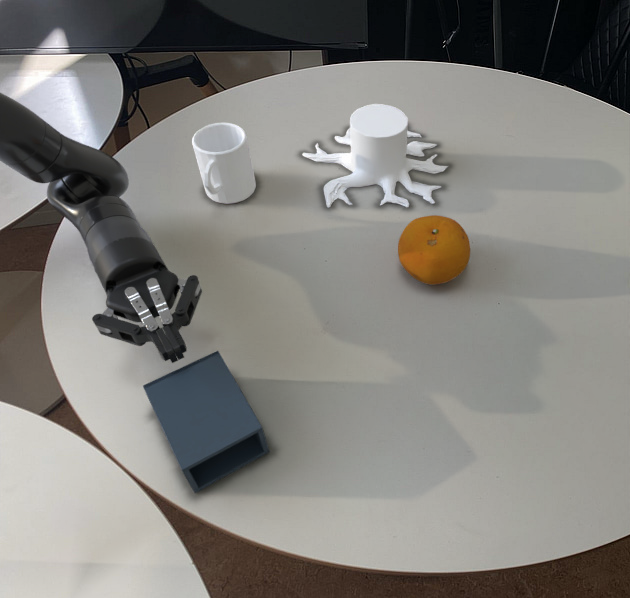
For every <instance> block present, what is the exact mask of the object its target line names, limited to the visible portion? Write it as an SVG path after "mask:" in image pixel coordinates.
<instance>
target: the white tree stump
mask: <svg viewBox="0 0 630 598" xmlns="http://www.w3.org/2000/svg"><path fill="white" fill-rule="evenodd" d="M403 111H404V110H401V109H400V108H398V107H395V106H393V105H389V104H386V103H384V104H381V103H372V104H366V105H363V106H361V107H358V108H356V110H354V111H353V113H351V115H350V118H349V128H348V129H347V130H346V133H345V135H344V136H340V135H335V136H334V140H335V142H337V143H338V144H341V145H347V146H350V152H336V153H334V152H333V153H327V152H326V151H324V150H323V149H322V148H320V147H319V143H318V142H317V143H316V144H315V145H314V146H315V150H316V153H310V152H303V153H302V156H303V157H304V158H307V159H309V160H312V161H314V162H316V163H329V164H339V165H342V166H343V167H344V168H346V169H347V170H349V171H351V173H350V174H348V175H345V176H341V177H337V178H333V179H331V180H330V181H327V182H326V183H325V184H324V186H323V194H324V199H325V203H326V207H327V208H329V209H330V208H331V207H332V204H333V203H334V202H335V200H338V199H339V200H343V201H344V202H345V204H347V205H349V206H353V203H352V202H351V200H350V199H349V197H348V195H346V193H345V191H346V190H347V189H349V188H361V187H368V186H373V185H377V186H380V187H381V188H382V191H383V193H384V195H383V196H384V197H383V199H382V200H381V201H380V204H379V206H383V205H384V204H386V203H392V204H397V205H401V206H403V207H405V208H409V207H410V203H409V200H408V199H406V198H404V197H401V196H397V195H396V193H395V191H396V186H397V182H399V183H400V184H401V185H403V187H404V188H405V189H406V190H407V191H408V192H409V193H410V194H412V193H414V194H415V195H418V196H421V197H422V198H423V200H425V201H426V202H428V203H430V204H431V205H434V204H436V201H435V200H434V199H433V197H432V192H433V191H434V190H439V189H441V188H442V185H434V184H433V185H430V184H425V183H421V182H417V181H414V180H412V179H411V177H410V174H409V172H410V171H411V170H416V171H420V172H425V173H430V174H438V173H442V172H445V171H446V169H448V167H449V165H438V164H435V163H434V162H433V160H435V158H436V157H437V156H438V154H436V153H434V154H433V155H431V156H430V157H429V158H427V159H426V160H423V161H422V160H418V159H413V158H409V157H407V155H410V156H414V157H417V158H418V157H420V158H421V157H425V153H424V152H423V151H424V150H429V149H432V148H435V147H437V146H438V144H437V143H429V142H423V141H421V142H420V141H417V140H413V141H411V142H409V143H408V138H411V137H413V138H422V136H421V134H420V133H418V132H413V131H410V130H409V129H408V127H409V118H408V116H407V115H406V113H405V112H403Z"/></svg>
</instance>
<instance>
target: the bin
mask: <svg viewBox="0 0 630 598" xmlns="http://www.w3.org/2000/svg"><path fill="white" fill-rule="evenodd" d="M142 388H143V390H144V392H145V395H146V396H147V398H148V401H149V403H150V405H151V407H152V409H153V412H154V414H155V416H156V418H157V420H158V423H159V424H160V427H161V430H162V431H163V433H164V436H165V438H166V440H167V442H168V444H169V447H170V448H171V451H172V453H173V455H174V457H175V459H176V462H177V464H178V466H179V468H180V470H181V472H182V474H183V475H184V477H185V479H186V481H187V483H188V484H189V486H190V487H191V489H192V491H193V492H194V494H196V493H198V492H200V491H202V490H203V489H205V488H207V487H209V486H211V485H213V484H214V483H216V482H218V481H220V480H221V479H223V478H225V477H227V476H229V475H231V474H232V473H234V472H236V471H238V470H240V469H241V468H243V467H245V466H247V465H249V464H250V463H252V462H254V461H256V460H258V459H260V458H261V457H263V456H265V455H267V454H269V453H270V449H269V445H268V442H267V439H266V435H265V432H264V429H263V426H262V424H261V422H260V421H259V419H258V418H257V415H256V414H255V412H254V410H253V409H252V407H251V406H250V404H249V402H248V400H247V398H246V396H245V395H244V393H243V391H242V390H241V388H240V386H239V385H238V383H237V381H236V379H235V378H234V376H233V374H232V372H231V371H230V369H229V367H228V366H227V364H226V362H225V360H224V358H223V356H222V355H221V353H220V351H219V350H216V351H213V352H211V353H209V354H207V355H205V356H203V357H201V358H198V359H196V360H194V361H192V362H190V363H188V364H186V365H184V366H182V367H179V368H177V369H175V370H173V371H171V372H169V373H167V374H164V375H163V376H160V377H158V378H156V379H154V380H151V381H150V382H148V383H145V384H142Z"/></svg>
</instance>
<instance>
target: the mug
mask: <svg viewBox="0 0 630 598" xmlns="http://www.w3.org/2000/svg"><path fill="white" fill-rule="evenodd" d="M247 136H248V135H247V132H246V131H245V129H244V128H243V127H241V126H239V125H238V124H234V123H231V122H214V123H210V124H207V125H205V126H203V127H201V128H200V129H199V130H197V131H196V132H195V133H194V135H193V136H192V138H191V144H192V147H193V151H194V156H195V158H196V162H197V167H198V169H199V173H200V177H201V180H202V181H201V182H202V184H203V188H204V192H205V194H206V195H207V197H208V198H209V199H210V200H212V201H213V202H216V203H219V204H227V205H228V204H229V205H230V204H237V203H240V202H243V201H245V200H246V199H249V198H250V197H251V196H252V195H253V194H254V192H255V190H256V187H257V184H256V183H257V182H256V178H255V177H256V176H255V172H254V167H253V161H252V157H251V156H252V155H251V151H250V146H249V140H248V137H247Z"/></svg>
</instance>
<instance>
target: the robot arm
mask: <svg viewBox="0 0 630 598" xmlns="http://www.w3.org/2000/svg"><path fill="white" fill-rule="evenodd" d="M0 162H1V163H3V164H4V165H6V166H8V167H9V168H11V169H12V170H14V171H15V172H17V173H19V174H20V175H21V176H24V177H25V178H27V179H28V180H29V181H32V182H34V183H38V184H48V185H47V188H46V198H47V200H48V203H49V204H50V205H51V207H52V208H53V209H54V210H55V211H56V212H58V213H59V214H60V215H61V216H62V217H64V218H65V219H67V220H68V221H69V222H70V223H71V224H72V225H73V226H74V227H75V229H76V230H77V231H78V232H79V234H80V237H81V238H82V241H83V243H84V245H85V247H86V251H87V255H88V257H89V260H90V263H91V265H92V267H93V269H94V272H95V274H96V276H97V278H98V279H99V282H100V284H101V286H102V288H103V291H104V292H105V294H106V300H105V305H106V307H107V308H106V309H105V310H104V311H103V313H95V314H94V315H93V316H92V317H91V320H92V322H93V324H94V325H95V328H96V329H97V330H98V332H99V334H100V335H101V336H105V337H108V338H112V339H114V340H118V341H121V342H125V343H128V344H131V345H134V346H138V347H142V346H144V345H146V343H153V344H154V346H155V347H156V349H157V351H158V353H159V355H160V358H161V359H162V360H163V361H165V362H167V361H169V360H170V362H171V364H174V363H176V362H178V361H180V360H182V359H185V355H184V354H185V353H186V352H187V351H188V347H187V345H186V342H185V339H184V338H183V336H182V334H181V333H180V329H181V328H183V327H188V326H190V324H191V322H192V320H193V317H194V314H195V311H196V309H197V307H198V304H199V301H200V299H201V296H202V293H203V289H202V285H201V283H200V280H199V277H198V276H197V275H195V274H191V275H189V276H188V277H187V278H179V276H178V275H177V274H176V273H174V272H172V271H170V270H169V269H168V267H167V265H166V263H165V262H164V260H163V258H162V256H161V255H160V252H159V251H158V249H157V248H156V246H155V243H154V242H153V240H152V239H151V237H150V235H149V234H148V232H147V231H146V230H145V229H144V228H143V227H142V226H141V224H140V222H139V220H138V219H137V216H136V215H135V213H134V211H133V209H132V208H131V206H130V205H129V204H128V203H127V202H126V201H125V200H124V199H122V198H121V197H122V196H123V195H124V194H125V193H126V192H127V190H128V188H129V184H130V179H129V174H128V172H127V171H126V169H125V167H124V166H123V165H122V164H121V163H120V162H119V161H118V160H117V159H116V158H114V157H113V156H112V155H110V154H108V153H107V152H104V151H102V150H100V149H98V148H96V147H93V146H89V145H87V144H85V143H82V142H80V141H77V140H75V139H72V138H71V137H68V136H66V135H64V134H63V133H61V132H60V131H59V130H58V129H56V128H54V127H53V126H52V125H51V124H50V123H48V122H47V121H45V120H44V119H43V118H42V117H40V116H39V115H38V114H36V112H34V111H32V110H31V109H30V108H28V107H27V106H26V105H24V104H22V103H21V102H19V101H17V100H16V99H14V98H12V97H10V96H8V95H6V94H4V93H2V92H0ZM179 291H180V297H179V298H178V301H177V303H176V300H177V296H178V294H179ZM175 303H176V307H175V308H174V312H173V313H171V310H172V308H173V307H174V306H175ZM158 317H159V319H160V320H161V325H162V327H160V325H159V323H158V322H157V320H156V319H155V318H158ZM119 318H122V319H119ZM123 319H124V320H123ZM125 320H127V321H125ZM129 321H130V322H129ZM136 323H140V324H141V325H142V326H140V325H138V324H136Z"/></svg>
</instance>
